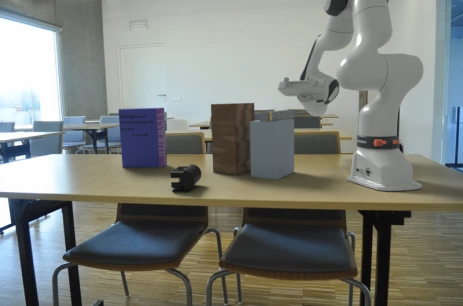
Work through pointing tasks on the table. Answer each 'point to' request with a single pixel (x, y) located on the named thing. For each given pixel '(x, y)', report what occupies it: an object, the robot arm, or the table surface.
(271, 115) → the grey yellow-banded bar
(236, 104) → the tall walnut stand
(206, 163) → the table surface
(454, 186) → the table surface
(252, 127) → the blue-grey rectangular block
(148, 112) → the blue book
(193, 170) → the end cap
